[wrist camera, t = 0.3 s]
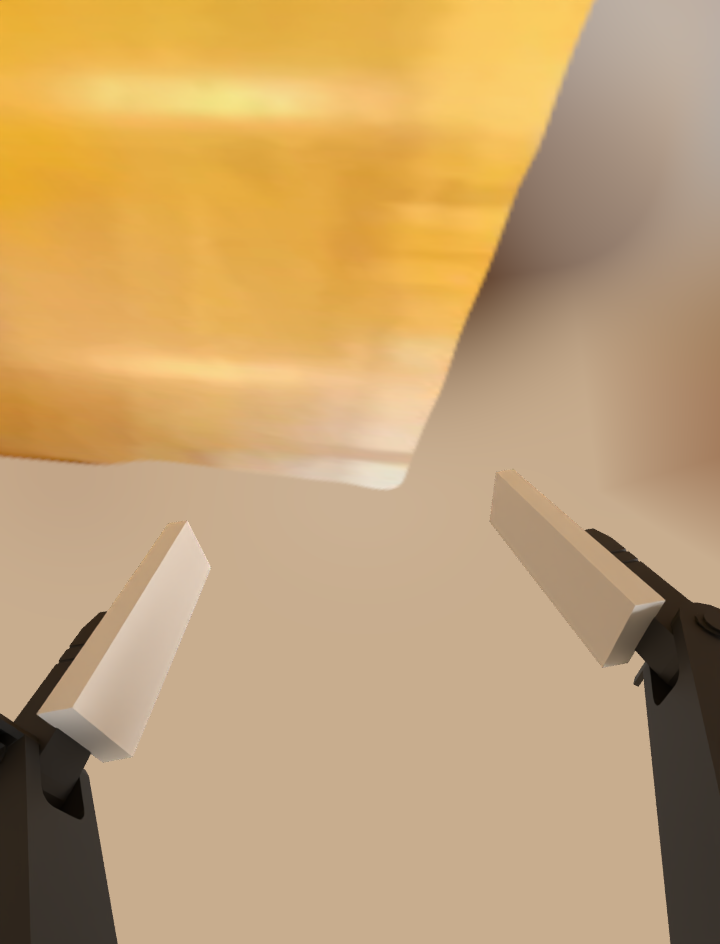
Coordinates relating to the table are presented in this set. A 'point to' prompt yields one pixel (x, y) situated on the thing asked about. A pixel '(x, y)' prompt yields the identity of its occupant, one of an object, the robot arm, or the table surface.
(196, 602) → the robot arm
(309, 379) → the table surface
